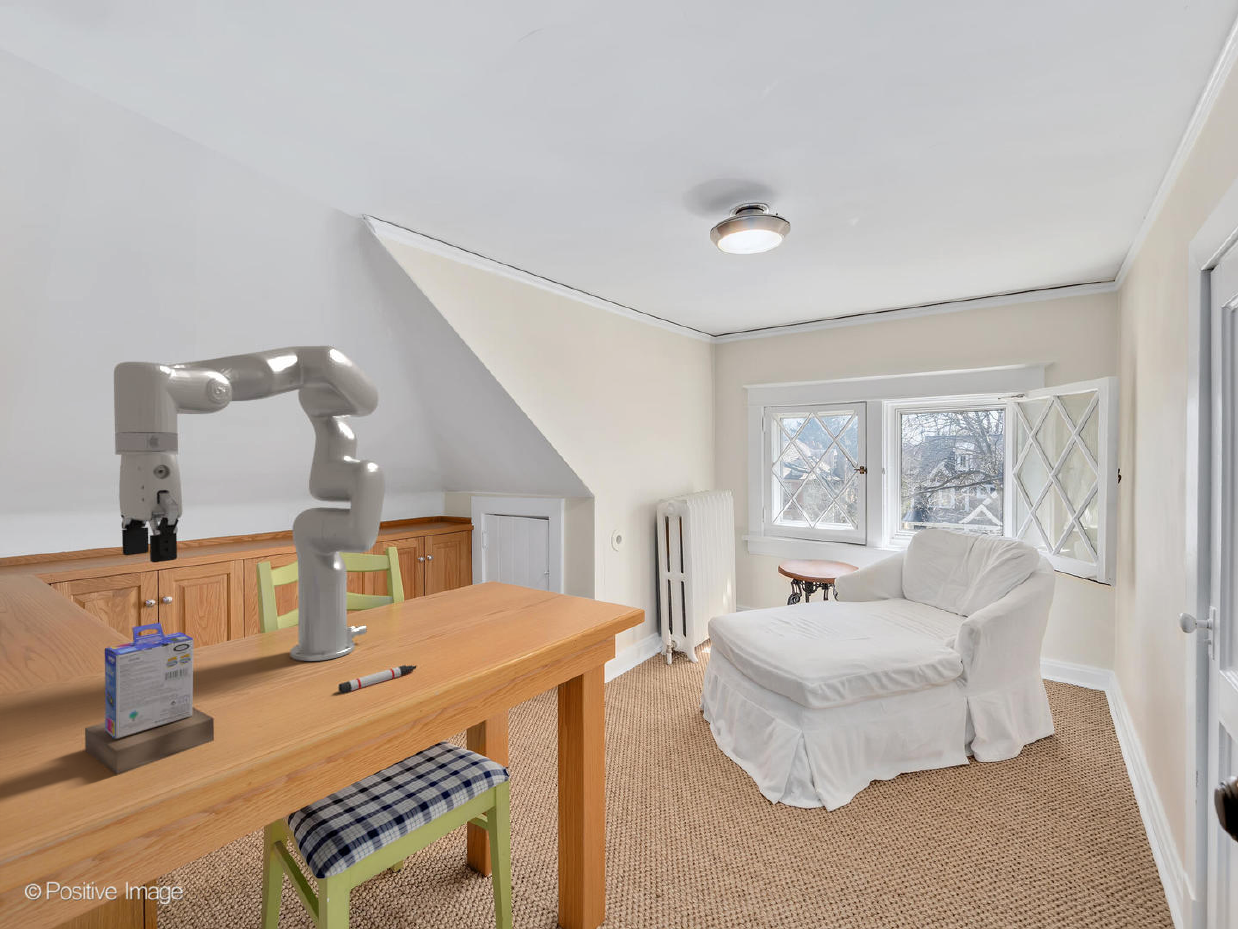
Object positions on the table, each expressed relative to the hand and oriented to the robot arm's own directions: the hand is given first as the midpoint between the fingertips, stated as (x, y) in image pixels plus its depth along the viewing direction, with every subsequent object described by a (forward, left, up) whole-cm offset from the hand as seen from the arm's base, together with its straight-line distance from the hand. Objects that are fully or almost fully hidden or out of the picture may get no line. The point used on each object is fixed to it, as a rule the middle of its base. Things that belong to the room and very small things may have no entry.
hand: (149, 557), depth 93 cm
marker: (-34, +9, -29) cm, 45 cm away
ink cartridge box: (+1, +2, -25) cm, 25 cm away
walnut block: (+1, +2, -29) cm, 29 cm away
